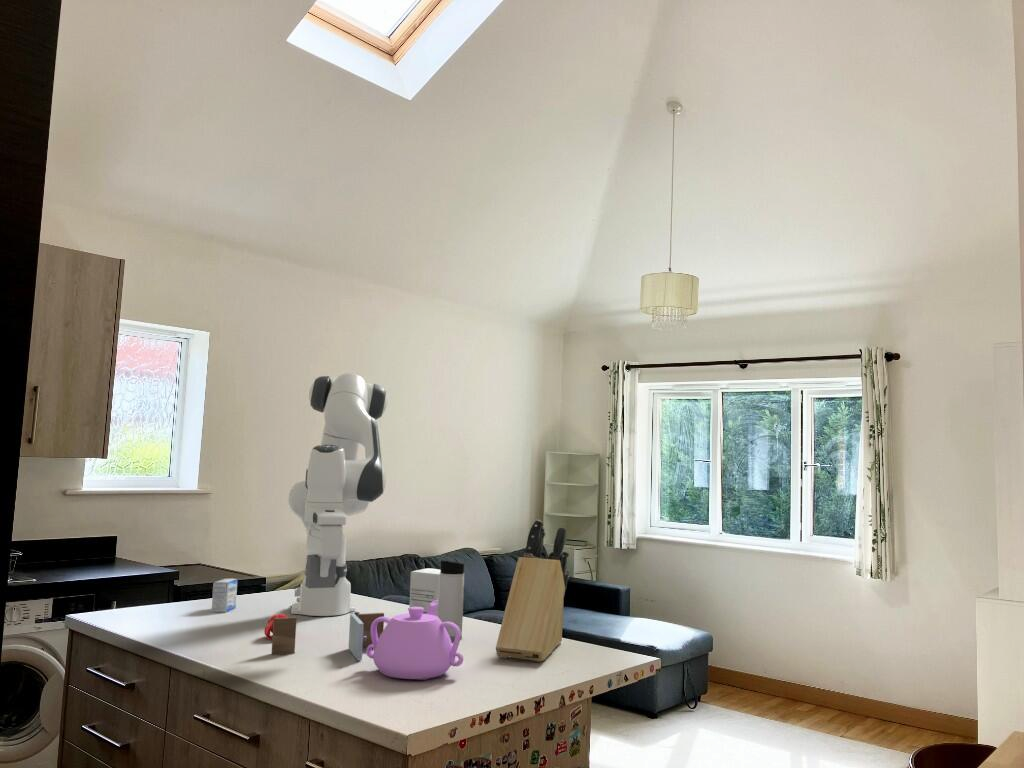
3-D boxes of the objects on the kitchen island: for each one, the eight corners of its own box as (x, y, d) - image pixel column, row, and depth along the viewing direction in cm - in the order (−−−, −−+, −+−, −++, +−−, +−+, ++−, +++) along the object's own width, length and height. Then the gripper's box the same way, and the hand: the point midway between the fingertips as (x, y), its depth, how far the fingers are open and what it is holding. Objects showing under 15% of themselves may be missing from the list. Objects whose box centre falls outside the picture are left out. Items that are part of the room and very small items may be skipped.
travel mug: (431, 638, 206) (434, 559, 208) (450, 635, 211) (453, 557, 213) (447, 642, 202) (451, 562, 204) (466, 639, 206) (469, 560, 208)
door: (347, 647, 191) (349, 613, 192) (357, 646, 192) (358, 612, 193) (357, 660, 179) (359, 623, 180) (367, 659, 180) (368, 623, 181)
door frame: (271, 653, 184) (273, 615, 185) (381, 646, 195) (382, 610, 196) (272, 654, 183) (274, 616, 184) (382, 647, 194) (384, 611, 195)
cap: (295, 627, 198) (297, 611, 203) (272, 620, 196) (275, 604, 201) (282, 650, 200) (285, 633, 206) (259, 643, 199) (262, 626, 204)
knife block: (570, 635, 215) (573, 519, 218) (541, 666, 181) (545, 527, 184) (529, 632, 217) (532, 517, 221) (494, 661, 184) (498, 525, 187)
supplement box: (424, 620, 229) (426, 567, 230) (451, 624, 225) (453, 570, 226) (407, 626, 221) (409, 570, 222) (435, 629, 217) (437, 573, 218)
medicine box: (226, 613, 231) (228, 582, 232) (210, 612, 231) (213, 581, 232) (236, 608, 239) (238, 578, 240) (221, 607, 239) (223, 578, 240)
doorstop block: (305, 585, 185) (307, 554, 185) (331, 584, 187) (332, 554, 188) (308, 588, 181) (310, 556, 182) (335, 587, 184) (336, 556, 184)
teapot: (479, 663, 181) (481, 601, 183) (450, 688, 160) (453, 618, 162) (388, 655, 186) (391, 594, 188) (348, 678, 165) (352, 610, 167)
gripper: (302, 511, 194) (298, 569, 192) (319, 517, 175) (316, 581, 174) (328, 511, 196) (325, 569, 195) (348, 517, 178) (344, 580, 177)
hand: (320, 575), depth 184 cm, fingers closed on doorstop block, 4 cm apart
